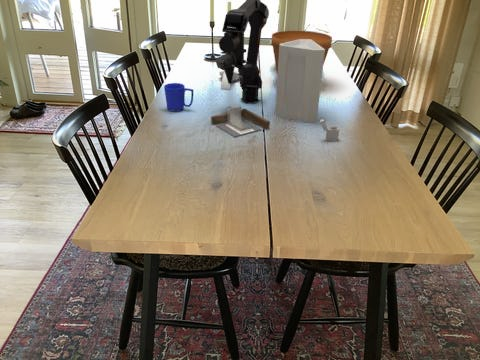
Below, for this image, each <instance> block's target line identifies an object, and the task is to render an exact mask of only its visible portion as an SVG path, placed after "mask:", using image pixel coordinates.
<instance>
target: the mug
mask: <svg viewBox="0 0 480 360" xmlns="http://www.w3.org/2000/svg"><path fill="white" fill-rule="evenodd" d="M163 89H164V94H165V103H166V107H167V108H166V109H168V110H169V111H170V112H171V111H172V112H179V111H182V110H183V109H184V107H186V108H188V107H189V108H190V107H191V106H192V105H193V101H194V89H192V88H189V87H187V88H186V87H185V85H184V84H183V83H180V82H172V83H166V84H165V85H164V86H163ZM186 91H189V92H191V96H190V97H191V98H190V103H189V104H186V102H185V101H186V98H185V95H186Z"/></svg>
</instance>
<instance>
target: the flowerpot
mask: <svg viewBox="0 0 480 360" xmlns="http://www.w3.org/2000/svg"><path fill="white" fill-rule="evenodd" d="M299 39H311V40H313V41H314V42H315V43H317V44H318V45H320V46H321V47H322V48H324V49H325V54H324V63H323V66H324V65H325V62H326V58H327V56H328V53H329V50H330V49H331V48H332V41H333V38H332V36H331V35H329V34H326V33H322V32H317V31H309V30H308V31H307V30H283V31H276V32H274V33H272V34H271V46H272V50H273V56H274V62H275V70H276V75H278V60H279V44H281V43H285V42H290V41H294V40H299Z"/></svg>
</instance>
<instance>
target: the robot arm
mask: <svg viewBox="0 0 480 360" xmlns="http://www.w3.org/2000/svg"><path fill="white" fill-rule="evenodd" d="M269 14H270V10H269V8H268V6H267V5H266V4H265V3H264V2H262V1H261V0H245V1H244V2H243V3H242V5H240V6H239V7H238V8H236V9H234V8H232V9H230V10H228V11H227V13H226V14H225V18H224V22H223V24H222V25H223V27H222V30H221V31H222V33H223V36H222V37H221V38H220V39H219V42H218V47H219V49H220V51H222V52H223V53H224V54H222V55H221V56H218V58H217V57H216V59H215V60H214V61H215V63H216V66H217V67H216V68H217V69H220V70H221V71H225V74H226V77H227V80H228V83H229V84H230V85H231V84H232V82H233V81H232V78H233V73H234V71H235V68H236V69H237V71H238V72H239V74H238V75H239V79H238V80H239V86H240V89H241V90H242V91H241V93H242V94H241V95H242V96H241V98H240V100H241V101H243V102H245V103H247V104H252V103H257V102H260V101H261V99H260V98H259V90H260V89H262V87H263V81H262V78H261V71H260V69H259V67H258V58H259V52H260V43H261V36H262V30H263V28H264V27H265V26H266V24H267V21H268V18H269V16H270V15H269ZM248 25H249V27H250V30H249V38H248V47H247V49H245V32H246V30H247V27H248ZM245 53H247V54H246V55H247V56H246V59H245Z"/></svg>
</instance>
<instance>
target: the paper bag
mask: <svg viewBox="0 0 480 360" xmlns="http://www.w3.org/2000/svg"><path fill="white" fill-rule="evenodd" d="M324 54H325V49H324V48H322V47H321V46H320V45H318V44H317V43H315V42H314V41H313V40H311V39H299V40H294V41H290V42H285V43H281V44H279V60H278V75H277V74H276V75H277V77H276V78H277V79H276V94H275V107H274V110H275V111H274V115H275V116H276V117H278V118H279V117H280V118H284V119H288V120H293V121H297V122H302V123H317V122H318V114H319V103H320V95H321V86H322V81H323V79H322V78H323V70H324V65H323V63H324V64H325V62H324Z"/></svg>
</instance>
